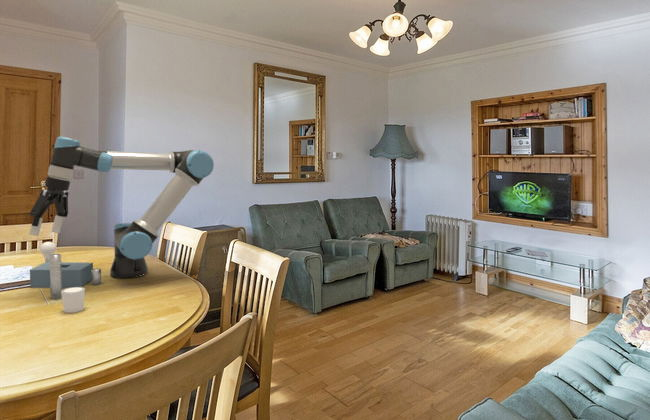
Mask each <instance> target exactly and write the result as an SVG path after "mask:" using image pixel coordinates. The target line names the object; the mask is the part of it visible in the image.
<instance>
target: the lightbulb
mask: <svg viewBox="0 0 650 420" xmlns="http://www.w3.org/2000/svg"><path fill="white" fill-rule="evenodd" d="M39 251H40V253H41V254H42V256H43V258H44V261H45V262H44V263H46V262H50V259H49V255H51V254H56V251H57V244H56V243H54V242H52V241H45V242H43V243H42V244H41V245H40V246H39Z"/></svg>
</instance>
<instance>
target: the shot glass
mask: <svg viewBox="0 0 650 420" xmlns="http://www.w3.org/2000/svg"><path fill="white" fill-rule="evenodd" d="M61 294H62V298H61V301H62V306H63V312H64V313H67V314H69V313H70V314H71V313H73V314H74V313H78V312H81V311H84V308H85V307H84V305H85V296H86V295H85V294H86V288H85V287H83V286H82V287H71V288H63V289H62V291H61Z"/></svg>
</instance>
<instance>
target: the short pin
mask: <svg viewBox="0 0 650 420" xmlns="http://www.w3.org/2000/svg"><path fill="white" fill-rule="evenodd" d="M90 283H91V286H99V285H98V284H100V285H102V268H93V269H92V270H91V281H90Z"/></svg>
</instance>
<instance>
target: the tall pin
mask: <svg viewBox="0 0 650 420" xmlns="http://www.w3.org/2000/svg"><path fill="white" fill-rule="evenodd" d="M49 259H50V299H51V300H60V299H62V294H61V291H62V290H63V288H62V269H61V262H62V253H54V254H51V255H49Z"/></svg>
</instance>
